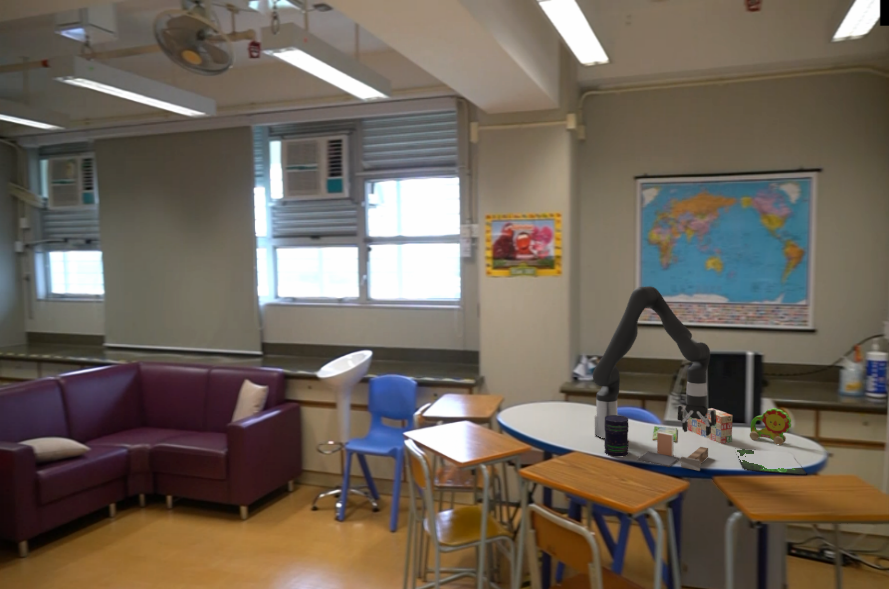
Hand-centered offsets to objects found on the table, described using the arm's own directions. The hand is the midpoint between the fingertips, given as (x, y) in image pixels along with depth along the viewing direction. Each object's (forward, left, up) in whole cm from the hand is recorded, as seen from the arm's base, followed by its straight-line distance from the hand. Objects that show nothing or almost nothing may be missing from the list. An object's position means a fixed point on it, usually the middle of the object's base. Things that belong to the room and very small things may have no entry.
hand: (696, 433), depth 242 cm
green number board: (-24, +29, -13) cm, 40 cm away
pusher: (0, +2, -13) cm, 13 cm away
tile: (-14, +3, -12) cm, 19 cm away
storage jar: (-31, -7, -13) cm, 34 cm away
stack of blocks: (-7, +39, -13) cm, 42 cm away
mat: (-14, -4, -12) cm, 19 cm away
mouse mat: (+21, +20, -13) cm, 32 cm away
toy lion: (+16, +46, -13) cm, 50 cm away
